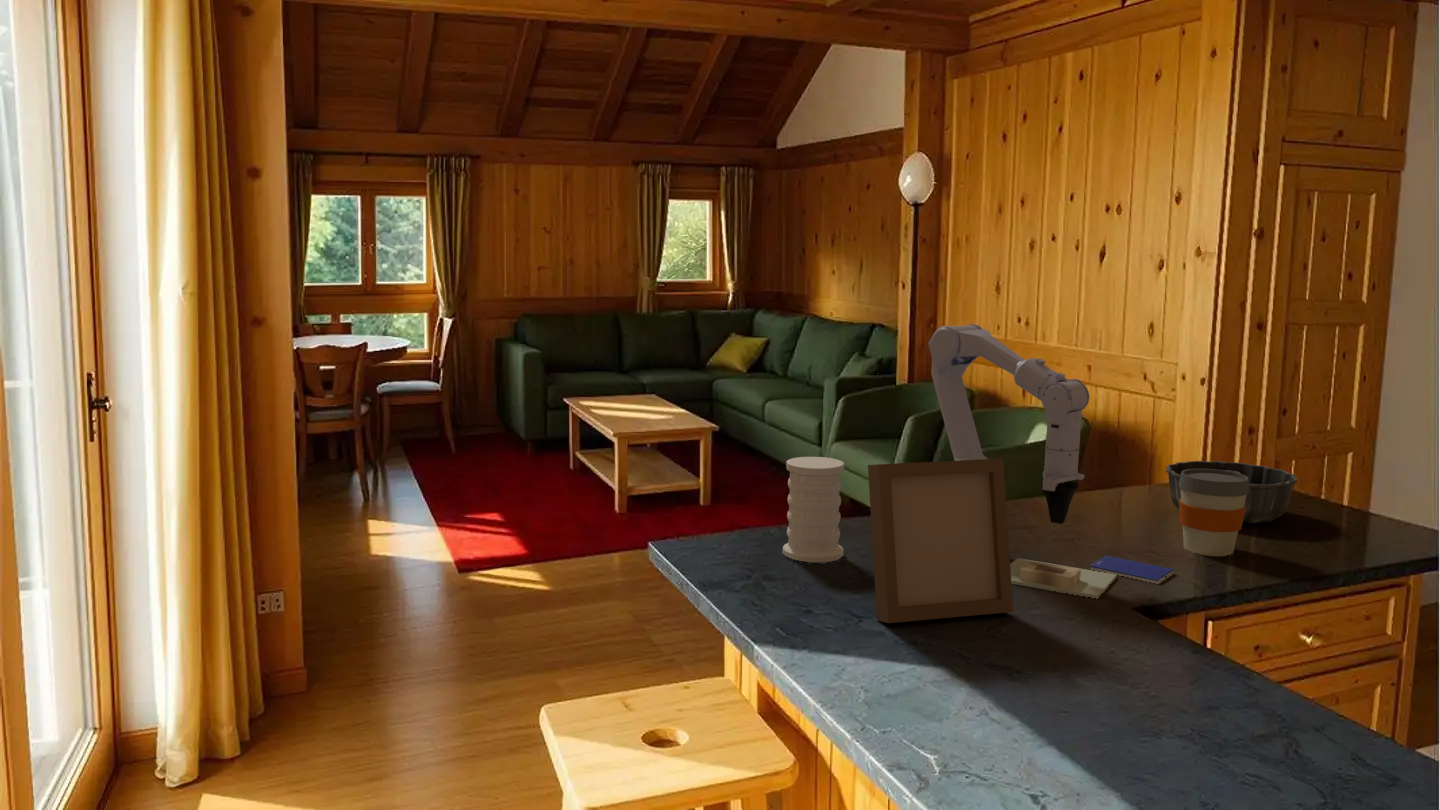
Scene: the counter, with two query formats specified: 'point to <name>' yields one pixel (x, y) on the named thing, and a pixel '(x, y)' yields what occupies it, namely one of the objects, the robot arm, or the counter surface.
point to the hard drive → (1132, 569)
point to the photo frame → (940, 539)
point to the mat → (1087, 586)
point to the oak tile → (1050, 574)
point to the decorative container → (814, 509)
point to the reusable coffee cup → (1212, 510)
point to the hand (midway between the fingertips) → (1057, 522)
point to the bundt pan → (1265, 487)
